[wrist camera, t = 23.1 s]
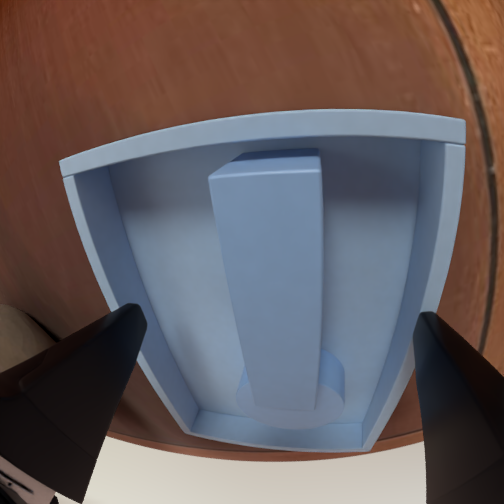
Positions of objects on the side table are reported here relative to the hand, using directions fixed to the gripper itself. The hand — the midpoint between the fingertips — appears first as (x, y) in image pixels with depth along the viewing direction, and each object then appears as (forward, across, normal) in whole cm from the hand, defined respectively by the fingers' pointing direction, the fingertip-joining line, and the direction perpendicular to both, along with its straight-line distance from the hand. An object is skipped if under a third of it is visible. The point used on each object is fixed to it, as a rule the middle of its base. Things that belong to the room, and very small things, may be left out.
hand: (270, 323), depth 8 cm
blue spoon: (+2, 0, +1) cm, 2 cm away
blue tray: (+2, +1, +2) cm, 4 cm away
